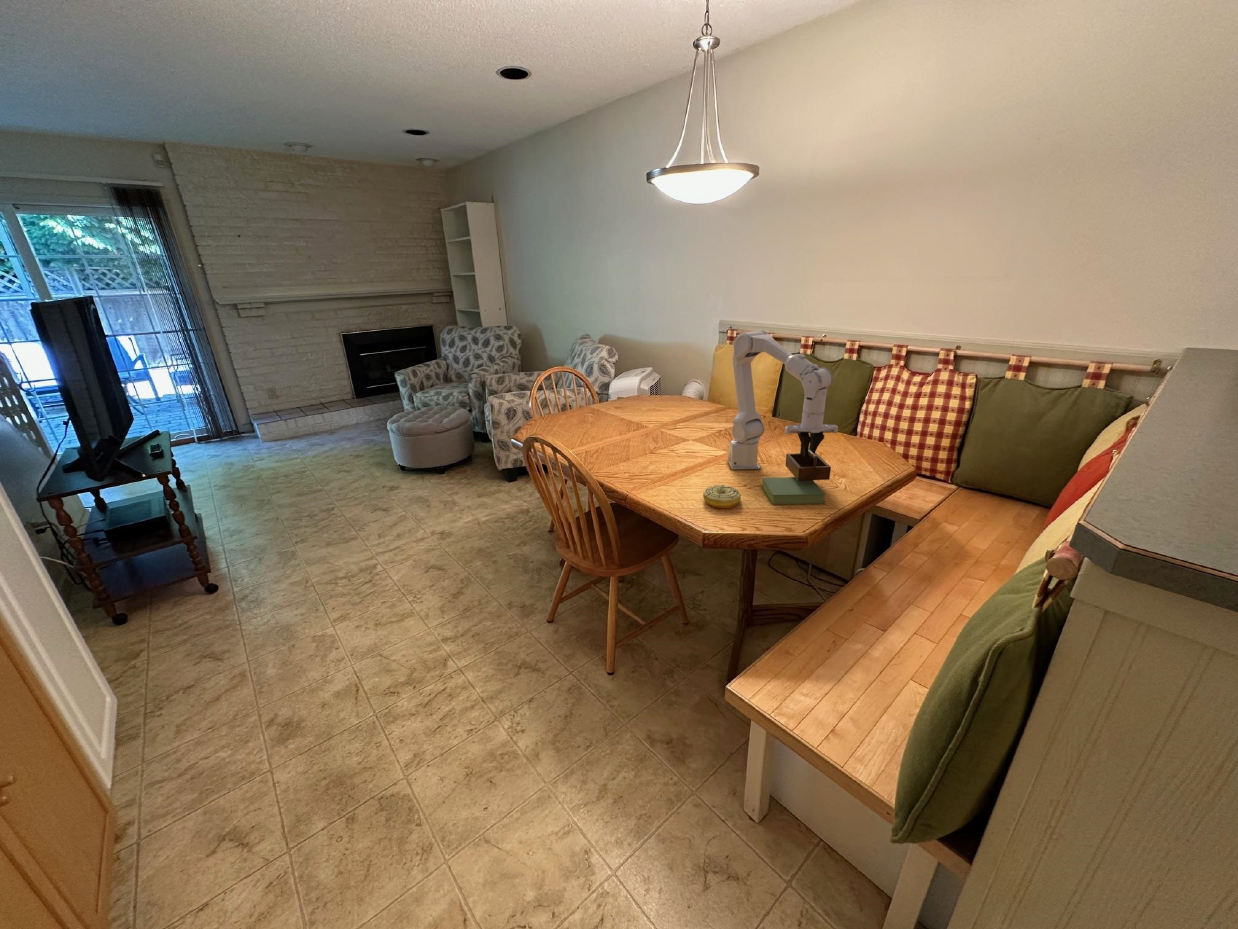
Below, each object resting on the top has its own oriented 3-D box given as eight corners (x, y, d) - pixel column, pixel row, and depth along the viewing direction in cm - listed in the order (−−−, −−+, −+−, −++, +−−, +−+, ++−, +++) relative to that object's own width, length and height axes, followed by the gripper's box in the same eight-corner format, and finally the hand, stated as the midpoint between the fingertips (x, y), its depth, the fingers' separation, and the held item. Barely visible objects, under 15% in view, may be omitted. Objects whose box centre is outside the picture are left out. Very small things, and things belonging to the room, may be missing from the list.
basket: (798, 481, 138) (800, 457, 135) (785, 465, 149) (787, 443, 147) (829, 479, 138) (832, 455, 135) (814, 464, 149) (816, 442, 146)
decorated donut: (742, 496, 140) (743, 485, 139) (737, 512, 131) (738, 500, 129) (707, 492, 144) (708, 480, 142) (699, 507, 134) (700, 495, 133)
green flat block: (772, 504, 135) (773, 494, 134) (761, 486, 146) (762, 477, 145) (824, 503, 134) (825, 494, 133) (808, 485, 146) (809, 476, 145)
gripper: (792, 416, 133) (787, 461, 138) (844, 414, 133) (838, 460, 138) (784, 409, 140) (780, 453, 145) (834, 408, 139) (828, 452, 144)
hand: (807, 456), depth 142 cm, fingers closed on basket
